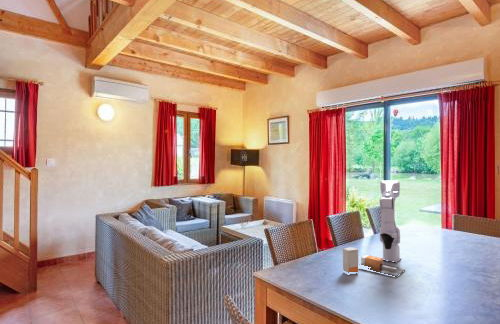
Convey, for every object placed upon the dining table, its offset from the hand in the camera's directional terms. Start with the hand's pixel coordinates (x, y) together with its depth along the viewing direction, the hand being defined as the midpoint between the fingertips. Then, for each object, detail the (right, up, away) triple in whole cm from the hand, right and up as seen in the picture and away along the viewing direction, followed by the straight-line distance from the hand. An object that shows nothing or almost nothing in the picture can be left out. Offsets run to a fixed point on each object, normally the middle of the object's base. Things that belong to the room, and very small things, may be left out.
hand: (388, 248), depth 149 cm
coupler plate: (-4, -10, -1) cm, 11 cm away
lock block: (-6, -9, +1) cm, 11 cm away
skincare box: (-20, -11, -5) cm, 23 cm away
